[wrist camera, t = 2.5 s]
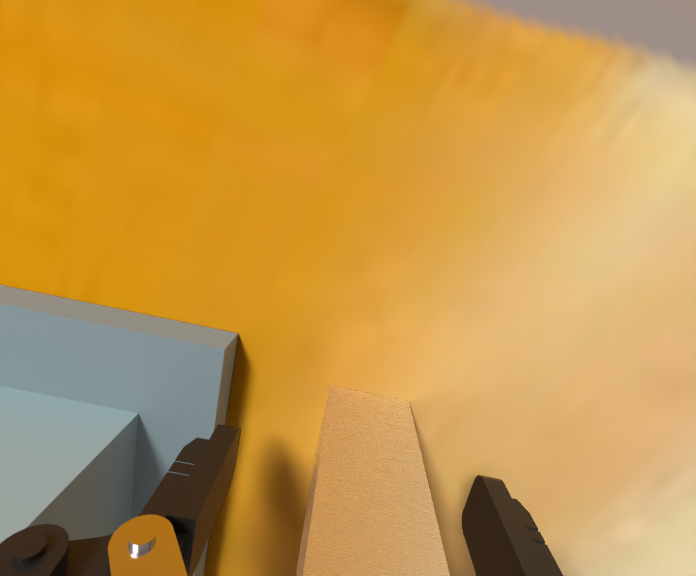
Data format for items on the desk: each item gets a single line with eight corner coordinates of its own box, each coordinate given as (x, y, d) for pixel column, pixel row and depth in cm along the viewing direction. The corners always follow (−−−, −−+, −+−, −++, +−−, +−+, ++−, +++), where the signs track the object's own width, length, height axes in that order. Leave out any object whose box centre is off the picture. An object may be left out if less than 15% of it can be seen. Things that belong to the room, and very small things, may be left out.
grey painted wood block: (408, 401, 15) (461, 622, 7) (375, 519, 17) (389, 807, 9) (330, 385, 15) (300, 593, 7) (304, 505, 17) (255, 783, 9)
